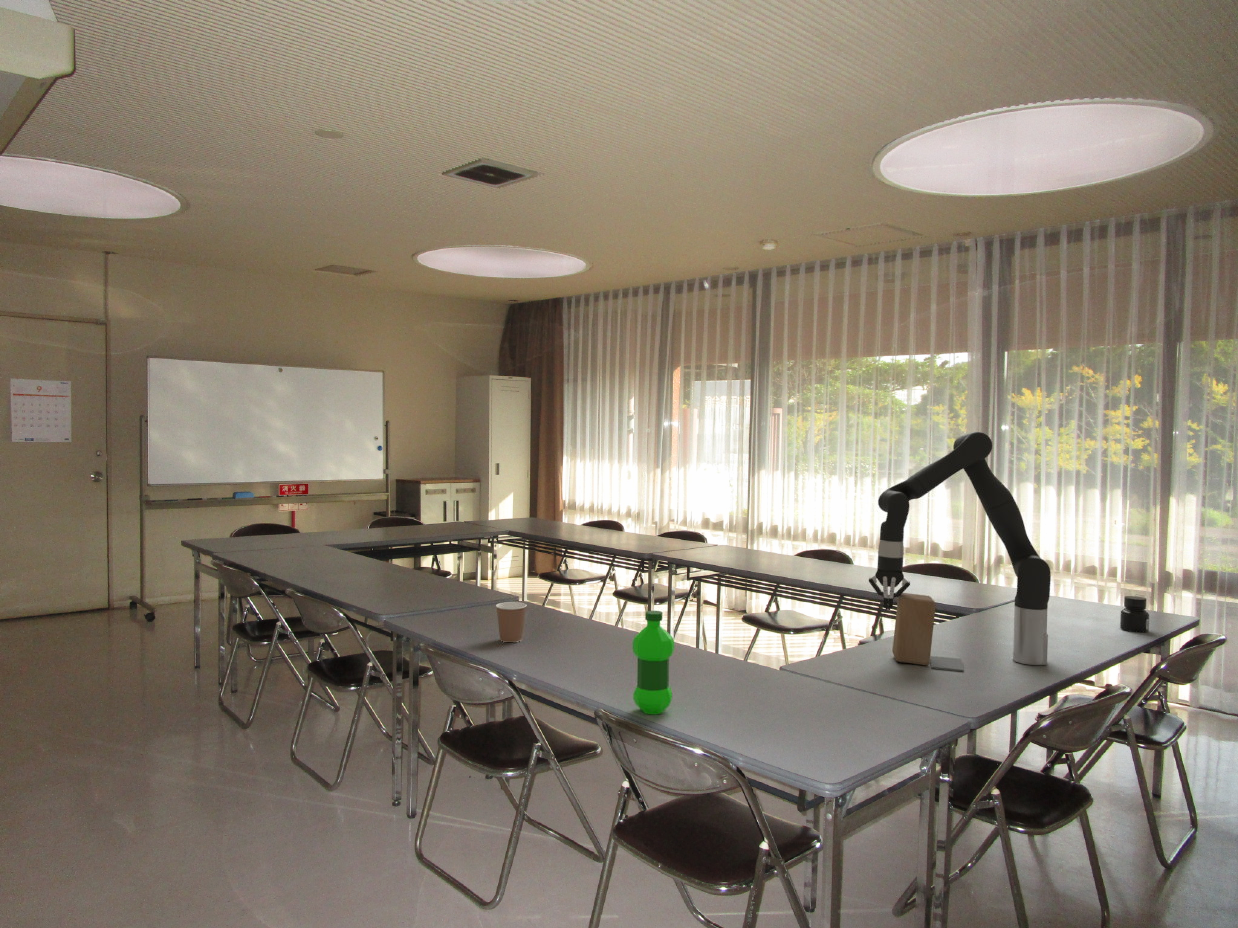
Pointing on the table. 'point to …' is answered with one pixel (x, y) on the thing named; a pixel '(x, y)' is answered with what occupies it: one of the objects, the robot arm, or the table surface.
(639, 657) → the plastic bottle
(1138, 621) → the ink bottle
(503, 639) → the coffee cup
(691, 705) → the table surface
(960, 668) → the mat
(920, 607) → the block
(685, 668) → the table surface
